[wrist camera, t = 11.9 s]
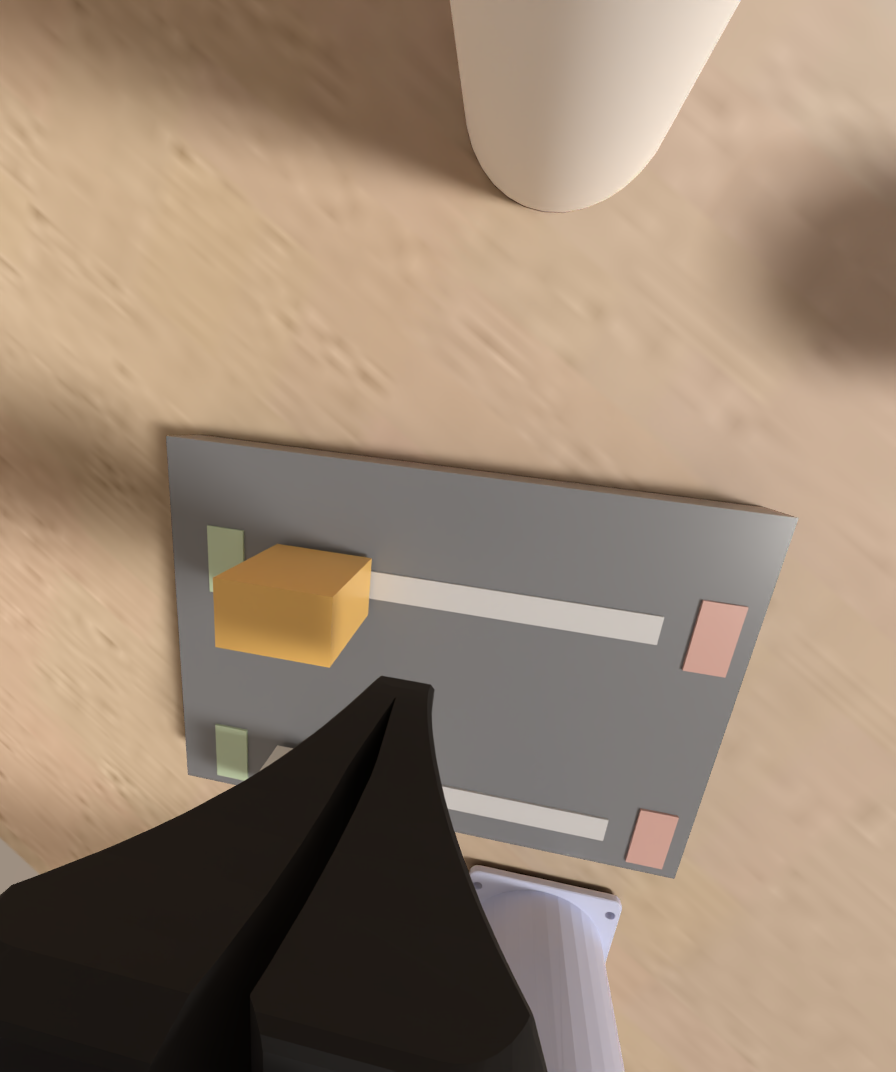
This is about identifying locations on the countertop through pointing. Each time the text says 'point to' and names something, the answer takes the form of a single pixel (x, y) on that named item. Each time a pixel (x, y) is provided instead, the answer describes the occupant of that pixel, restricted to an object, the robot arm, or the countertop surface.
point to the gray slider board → (489, 633)
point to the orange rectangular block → (292, 604)
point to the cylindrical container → (577, 89)
